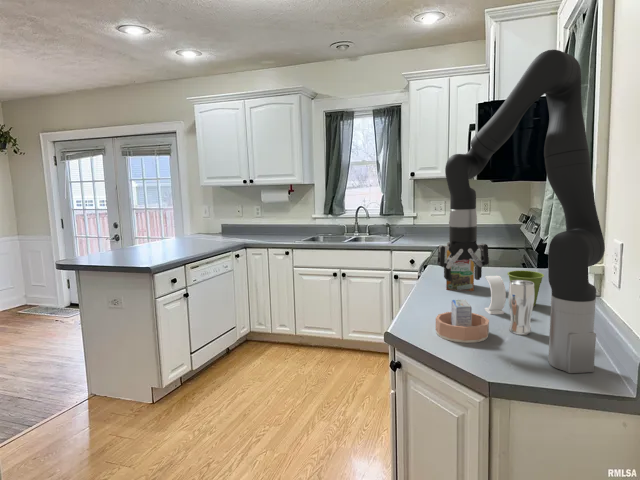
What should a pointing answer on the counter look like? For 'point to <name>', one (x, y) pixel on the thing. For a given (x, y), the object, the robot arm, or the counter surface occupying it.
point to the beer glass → (521, 306)
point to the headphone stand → (496, 295)
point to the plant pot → (528, 279)
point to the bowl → (462, 329)
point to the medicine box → (461, 313)
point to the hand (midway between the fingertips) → (462, 280)
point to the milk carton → (461, 275)
